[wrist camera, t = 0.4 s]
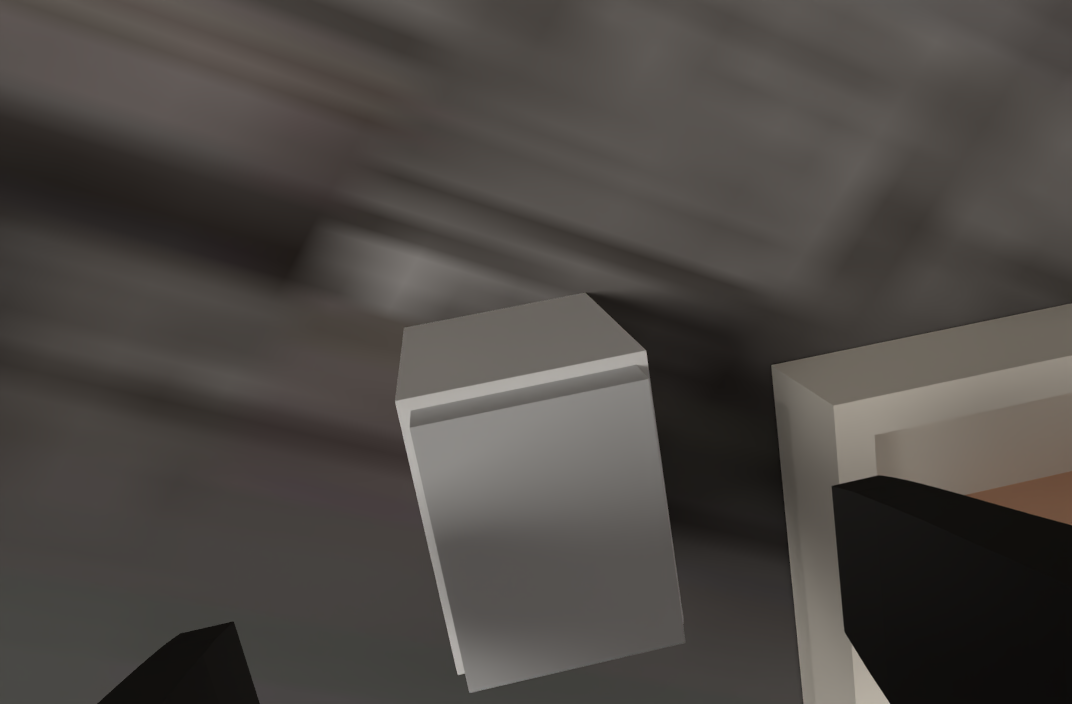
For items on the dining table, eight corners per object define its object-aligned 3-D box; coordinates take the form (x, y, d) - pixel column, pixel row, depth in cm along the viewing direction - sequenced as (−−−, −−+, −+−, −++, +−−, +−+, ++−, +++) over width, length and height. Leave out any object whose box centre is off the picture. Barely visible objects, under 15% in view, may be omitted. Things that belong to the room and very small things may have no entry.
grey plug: (617, 498, 19) (698, 650, 13) (449, 534, 19) (459, 706, 13) (584, 292, 18) (659, 364, 12) (404, 327, 18) (393, 417, 12)
